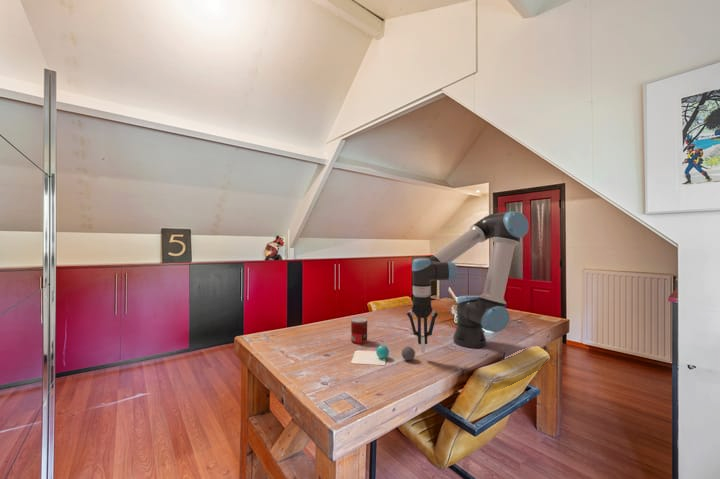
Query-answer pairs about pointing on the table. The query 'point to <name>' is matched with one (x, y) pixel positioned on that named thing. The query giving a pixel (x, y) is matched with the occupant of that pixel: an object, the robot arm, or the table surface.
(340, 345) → the table surface
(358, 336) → the canned food
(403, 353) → the gray ball
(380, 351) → the object ball
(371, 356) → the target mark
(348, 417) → the table surface
